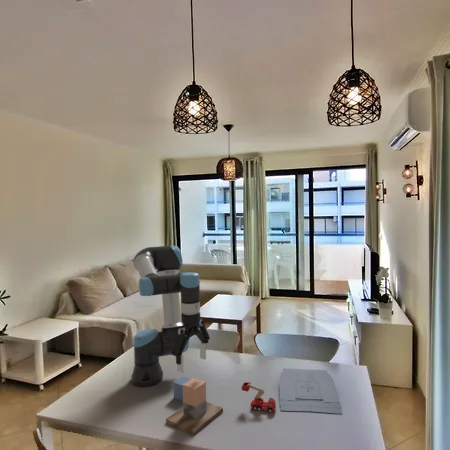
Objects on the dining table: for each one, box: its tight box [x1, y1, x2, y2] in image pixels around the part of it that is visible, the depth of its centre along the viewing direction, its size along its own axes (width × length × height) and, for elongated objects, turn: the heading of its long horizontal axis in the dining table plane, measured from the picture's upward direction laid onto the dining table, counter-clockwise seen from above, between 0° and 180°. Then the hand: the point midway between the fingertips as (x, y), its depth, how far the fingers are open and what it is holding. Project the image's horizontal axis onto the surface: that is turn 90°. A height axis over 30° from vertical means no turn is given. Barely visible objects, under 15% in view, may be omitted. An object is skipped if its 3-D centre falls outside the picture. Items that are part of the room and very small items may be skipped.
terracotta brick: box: [182, 377, 207, 407], centre depth 137 cm, size 6×6×7 cm
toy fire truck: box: [241, 381, 277, 413], centre depth 142 cm, size 3×14×10 cm, turn 71°
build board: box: [165, 399, 224, 436], centre depth 138 cm, size 14×18×6 cm
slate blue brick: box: [172, 375, 192, 402], centre depth 153 cm, size 6×6×7 cm
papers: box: [279, 367, 343, 415], centre depth 153 cm, size 24×30×4 cm
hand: (192, 364), depth 139 cm, fingers open, 13 cm apart
